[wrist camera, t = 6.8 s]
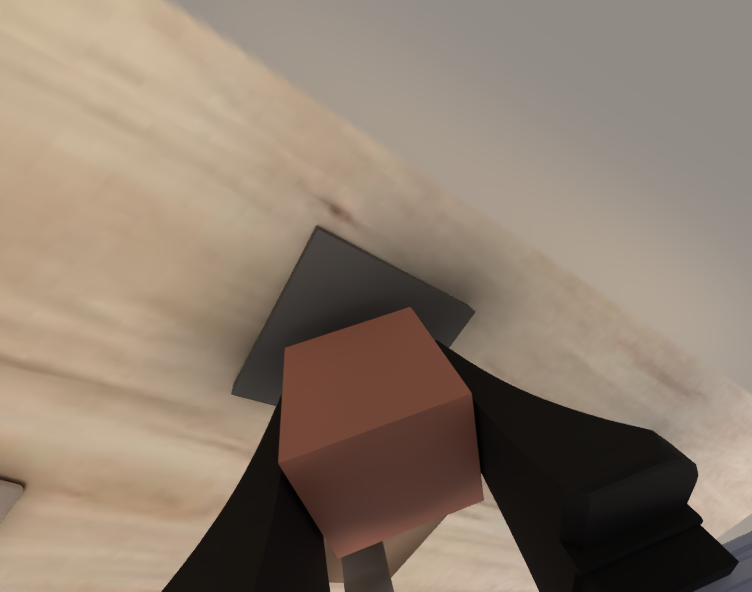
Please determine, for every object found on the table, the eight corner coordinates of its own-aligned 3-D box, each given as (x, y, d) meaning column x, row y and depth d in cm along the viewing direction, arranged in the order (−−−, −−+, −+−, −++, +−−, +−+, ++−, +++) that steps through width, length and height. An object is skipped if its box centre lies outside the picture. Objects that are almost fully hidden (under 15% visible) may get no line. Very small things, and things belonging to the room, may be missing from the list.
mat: (469, 306, 15) (475, 312, 14) (382, 425, 17) (385, 434, 16) (316, 225, 12) (317, 229, 11) (233, 384, 14) (230, 394, 13)
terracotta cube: (410, 306, 12) (471, 392, 8) (429, 396, 14) (483, 500, 10) (284, 347, 11) (277, 463, 7) (325, 433, 13) (337, 559, 9)
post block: (459, 466, 20) (524, 593, 14) (380, 558, 23) (408, 697, 17) (320, 432, 16) (332, 590, 10) (243, 549, 19) (219, 727, 13)
